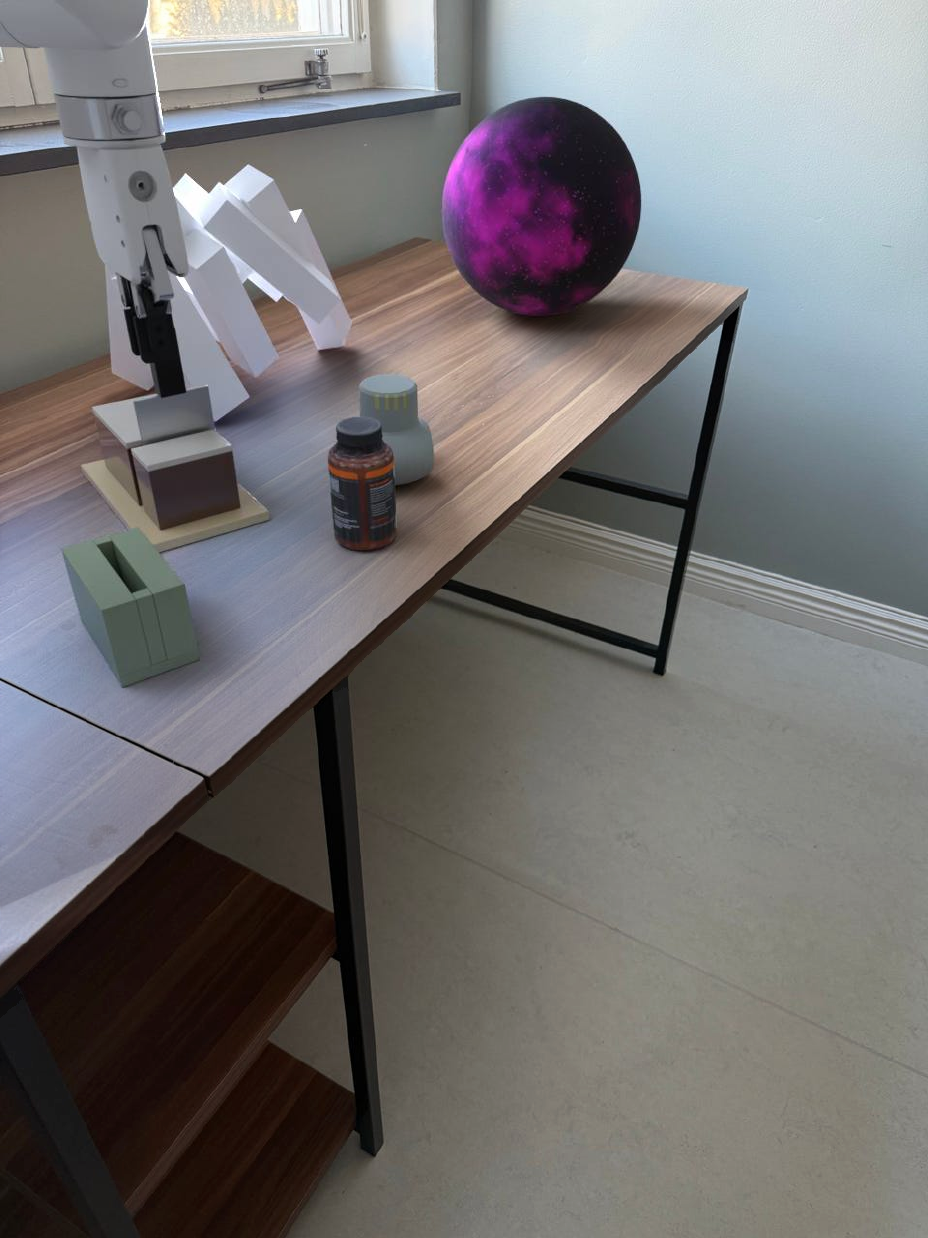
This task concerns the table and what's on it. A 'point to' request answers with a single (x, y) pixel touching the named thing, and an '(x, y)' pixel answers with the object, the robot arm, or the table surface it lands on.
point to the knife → (172, 405)
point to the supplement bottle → (362, 485)
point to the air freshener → (399, 423)
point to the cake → (169, 481)
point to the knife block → (131, 605)
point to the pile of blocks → (234, 287)
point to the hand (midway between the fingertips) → (155, 354)
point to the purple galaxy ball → (541, 206)
